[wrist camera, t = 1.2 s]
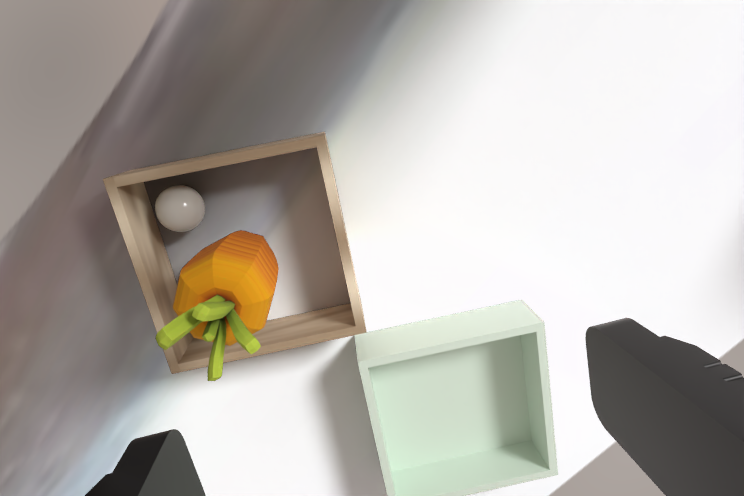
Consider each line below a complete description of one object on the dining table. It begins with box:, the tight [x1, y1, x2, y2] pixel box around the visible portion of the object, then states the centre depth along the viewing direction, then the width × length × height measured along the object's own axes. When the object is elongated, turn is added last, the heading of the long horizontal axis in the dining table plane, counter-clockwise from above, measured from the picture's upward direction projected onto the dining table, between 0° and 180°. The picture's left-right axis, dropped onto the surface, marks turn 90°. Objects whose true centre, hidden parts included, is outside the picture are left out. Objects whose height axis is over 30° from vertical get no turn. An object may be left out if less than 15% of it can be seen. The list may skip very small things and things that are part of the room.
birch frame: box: [103, 132, 366, 374], centre depth 32 cm, size 13×13×4 cm
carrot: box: [156, 230, 278, 381], centre depth 27 cm, size 5×5×15 cm
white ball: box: [155, 185, 205, 232], centre depth 31 cm, size 3×3×3 cm
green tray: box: [354, 300, 558, 496], centre depth 37 cm, size 13×13×4 cm
